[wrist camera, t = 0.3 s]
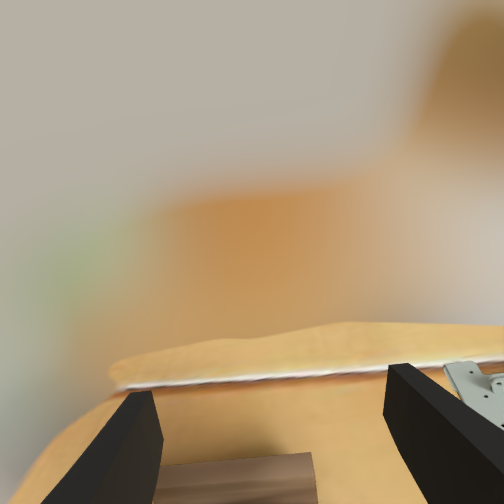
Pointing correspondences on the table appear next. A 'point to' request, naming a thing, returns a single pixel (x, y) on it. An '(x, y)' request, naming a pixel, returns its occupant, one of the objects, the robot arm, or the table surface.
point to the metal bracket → (478, 390)
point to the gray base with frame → (240, 481)
